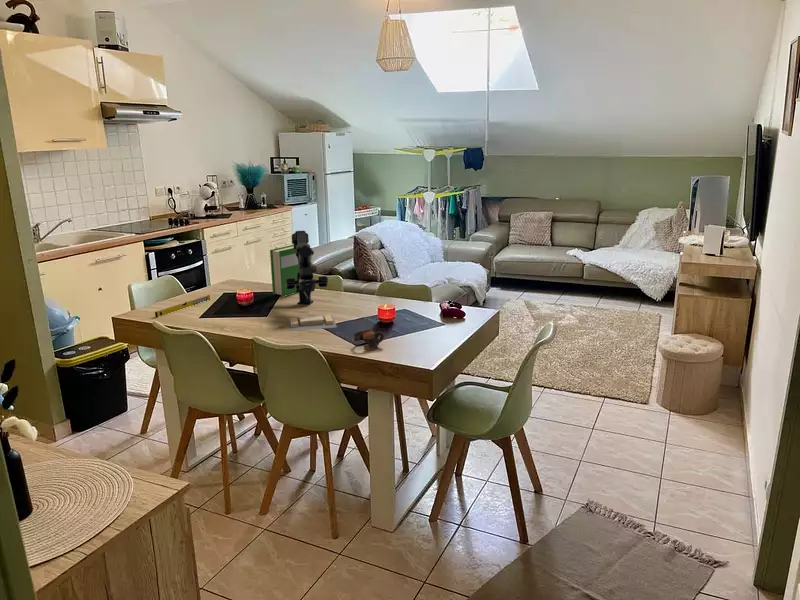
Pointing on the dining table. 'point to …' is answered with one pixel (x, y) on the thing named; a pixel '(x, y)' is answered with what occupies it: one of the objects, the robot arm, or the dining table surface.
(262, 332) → the dining table surface
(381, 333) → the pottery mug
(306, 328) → the plank mat
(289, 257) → the hardback book
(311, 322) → the birch plank
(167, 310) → the spirit level
